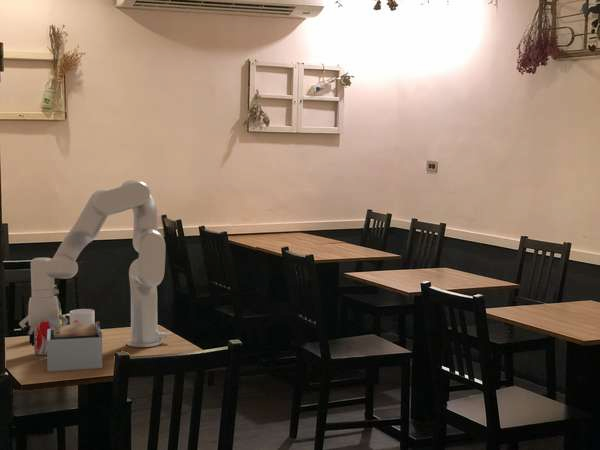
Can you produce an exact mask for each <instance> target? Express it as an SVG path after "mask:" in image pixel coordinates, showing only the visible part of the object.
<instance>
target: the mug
mask: <svg viewBox="0 0 600 450" xmlns="http://www.w3.org/2000/svg"><path fill="white" fill-rule="evenodd" d="M61 315H62V316H63V317H65V318H66V316H67V317H68V316H69V325H72V324H92V323H94V325H95V323H96V322H95V310H94V309H91V308H80V309H79V308H78V309H73V310H70V311H69V313H66V314H61Z"/></svg>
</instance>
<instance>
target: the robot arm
mask: <svg viewBox="0 0 600 450" xmlns="http://www.w3.org/2000/svg"><path fill="white" fill-rule="evenodd" d="M130 209H132V213H133V234H132V246H133V248H134V250H135V251H136V252H137V253H138V258H136V259H135V260H133V261H132V262H131V264H130V266H129V269H128V278H129V279H128V280H129V286H130V287H129V288H130V289H129V290H130V339H127V340H126V345H127V346H128V347H132V348H133V347H134V348H152V347H156V346H160V345H161V344H162V343H163V340H162V339H171V335H172V334H171V332H166V331H165V332H163V331H162V332H160V331H159V329H158V288H157V286H159V285H160V284H161V283H162V281H163V280H164V277H165V269H166V247H167V246H166V241H165V238H164V236H163V235H162V234H161V232H159V231H158V228H159V227H158V225H159V224H158V208H157V203H156V201H155V199H154V198H153V196H152V194H151V190H150V187H149V186H148V185H147V184H146V183H145V182H143V181H140V180H126V181H124V182H123V183H122V184H121V185H120V186H119V187H116V188H112V189H109V190H105V189H104V190H103V189H99V190H96V191H95V192H93V193H92V194H91V196H90V198H89V199H88V201H87V203H86V205H85V206H84V208H83V209H82V212H81V213H80V215H79V217H78V218H77V220H76V222H75V224H74V225H73V227H71V229H70V230H69V232H68V233H67V235H66V236H65V237H64V239H63V241H62V242H61V243H60V245H59V246H58V248H57V251H56V252H55V253H54V255H53V257H52V258H50V257H35V258H33V259H32V260H31V261H30V277H31V278H30V283H31V284H30V285H31V286H30V287H31V296H30V297H29V301H28V310H27V311H28V312H27V313H28V314H27V316H26V317H25V318H23V319H22V320H21V321H19V323H18V324H19V326H20V327H21V328H22V329H23V330H24V331H25V332H26V333H27V334H28V335H29V336H28V337H29V344H31V347H34V327H35V326H36V325H37V324H38V323H39V322H38V321H48V320H49V322H50V323H51V324H52V325H53V326H54V325H58V324H59V319H61V320H62V324H61V325H68V323H69V319H68V318H66V316H65V317H63V316H62V315H63V314H62V313H61V314H59V306H58V300H57V298H58V294H60V290H59V289H57V290H56V289H54V285H55V279H62V280H63V279H65V280H66V279H72V278H73V277H75V276H76V275H77V273H78V271H79V264H78V262H76V261H77V259H78V257H79V255H80V253H82V251H83V249H84V248H85V247H86V246H87V245H88V244H89V243H91V242H93V241H94V240H95V239H96V238H97V236H98V235H99V233H100V232H101V229H102V228H103V225H104V224H105V222H106V220H107V219H108V217H109V216H112V215H115V214H119V213H122V212H125V211H127V210H130ZM55 294H57V296H55ZM27 322H28V326H29V327H30V328H29V327H28V326H27V325H26V323H27Z"/></svg>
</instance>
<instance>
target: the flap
mask: <svg viewBox="0 0 600 450" xmlns="http://www.w3.org/2000/svg"><path fill="white" fill-rule="evenodd" d="M89 335H96V330H95V325H94V323H92V324H72V325H70V324H66V325H54V337H71V336H89Z"/></svg>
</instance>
